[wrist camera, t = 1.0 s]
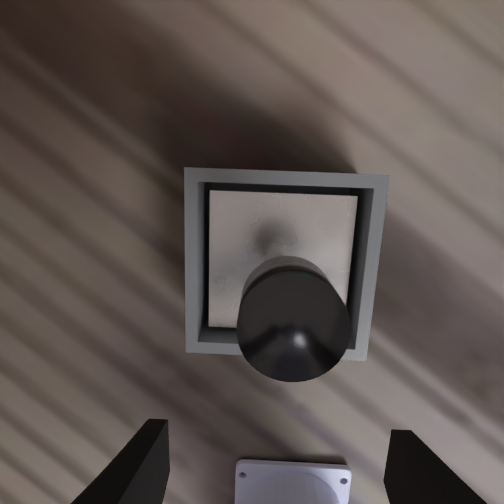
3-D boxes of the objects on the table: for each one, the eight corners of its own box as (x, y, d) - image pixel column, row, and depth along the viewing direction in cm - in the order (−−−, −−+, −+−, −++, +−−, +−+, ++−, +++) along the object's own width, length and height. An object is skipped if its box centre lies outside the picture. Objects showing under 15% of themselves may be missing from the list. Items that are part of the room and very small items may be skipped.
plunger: (341, 329, 17) (402, 443, 10) (209, 323, 17) (170, 431, 10) (355, 195, 16) (440, 210, 8) (211, 190, 16) (166, 199, 8)
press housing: (343, 322, 20) (366, 361, 16) (201, 315, 21) (185, 352, 16) (359, 176, 18) (389, 175, 14) (202, 170, 19) (184, 167, 14)
